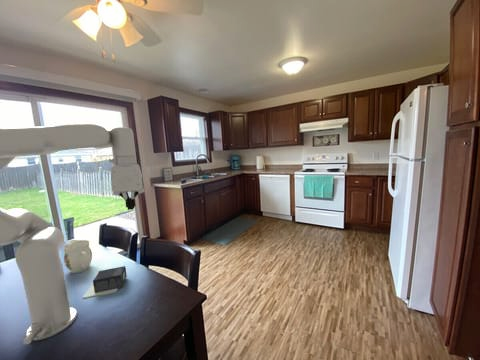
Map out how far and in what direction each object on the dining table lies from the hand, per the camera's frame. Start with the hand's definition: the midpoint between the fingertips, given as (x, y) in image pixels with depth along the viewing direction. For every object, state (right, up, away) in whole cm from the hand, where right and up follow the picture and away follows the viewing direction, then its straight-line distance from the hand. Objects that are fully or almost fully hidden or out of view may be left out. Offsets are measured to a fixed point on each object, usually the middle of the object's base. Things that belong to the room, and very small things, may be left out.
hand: (131, 208), depth 79 cm
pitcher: (-39, -35, +25) cm, 57 cm away
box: (-9, -31, +11) cm, 35 cm away
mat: (-17, -35, +10) cm, 40 cm away
